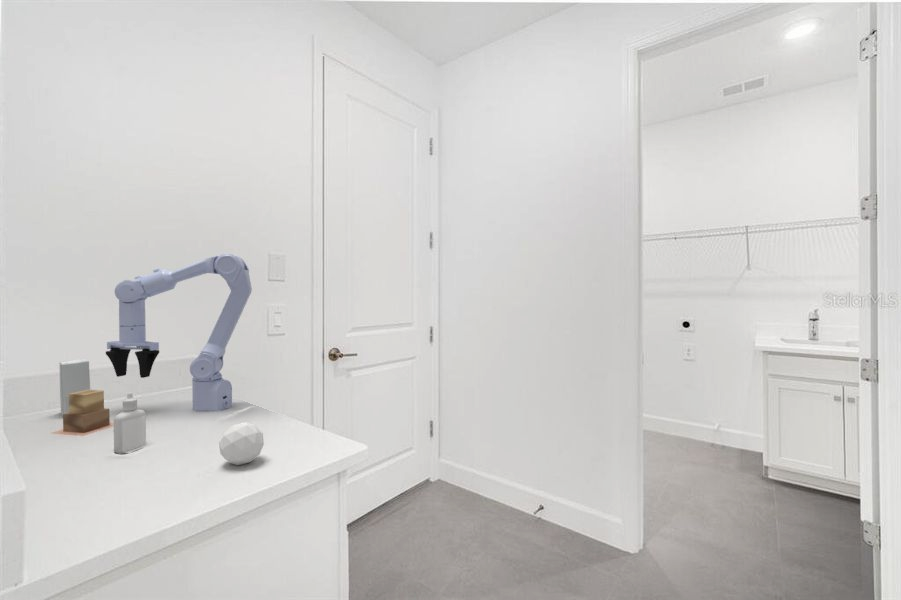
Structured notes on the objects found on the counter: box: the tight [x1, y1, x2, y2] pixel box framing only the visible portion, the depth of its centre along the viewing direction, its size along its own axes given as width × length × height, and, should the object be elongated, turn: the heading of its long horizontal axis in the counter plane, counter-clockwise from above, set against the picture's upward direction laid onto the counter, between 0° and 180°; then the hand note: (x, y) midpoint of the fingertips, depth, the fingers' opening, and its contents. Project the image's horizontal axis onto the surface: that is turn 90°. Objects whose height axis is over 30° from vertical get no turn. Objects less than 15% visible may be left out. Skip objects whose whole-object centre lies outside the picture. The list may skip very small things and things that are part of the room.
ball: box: [218, 421, 265, 466], centre depth 85 cm, size 8×8×8 cm
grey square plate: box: [51, 422, 114, 437], centre depth 107 cm, size 16×16×1 cm
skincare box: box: [59, 358, 91, 417], centre depth 117 cm, size 8×6×15 cm
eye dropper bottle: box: [113, 392, 147, 456], centre depth 92 cm, size 4×6×12 cm
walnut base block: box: [62, 407, 111, 433], centre depth 104 cm, size 6×6×4 cm
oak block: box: [69, 389, 105, 414], centre depth 104 cm, size 4×4×4 cm
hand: (133, 376), depth 118 cm, fingers open, 7 cm apart
